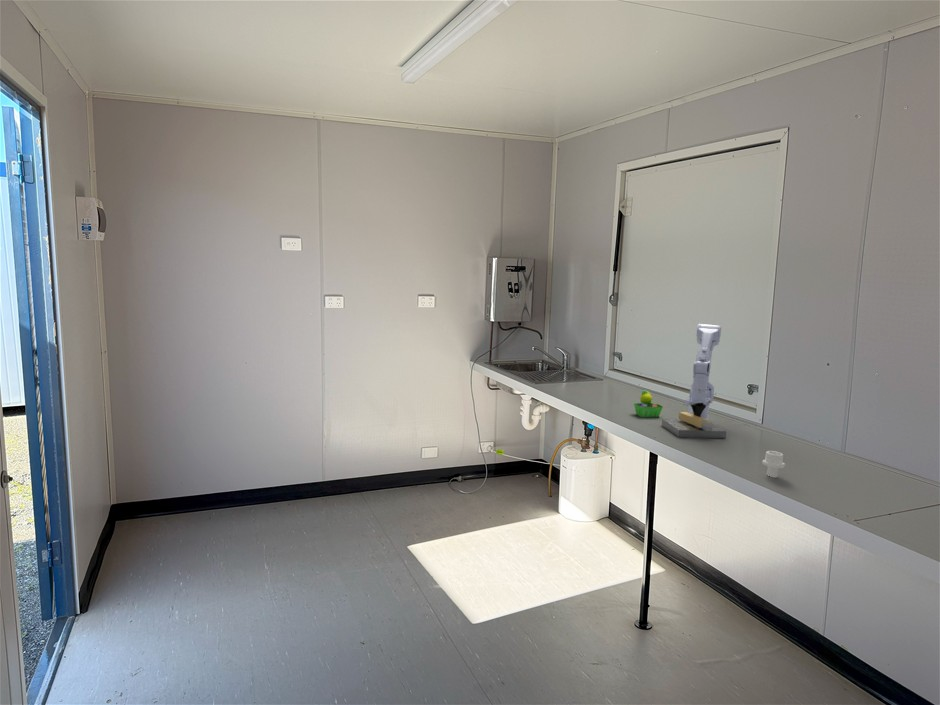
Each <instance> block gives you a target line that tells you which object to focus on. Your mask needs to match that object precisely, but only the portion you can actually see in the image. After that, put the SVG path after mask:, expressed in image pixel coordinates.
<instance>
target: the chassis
mask: <svg viewBox="0 0 940 705" xmlns="http://www.w3.org/2000/svg"><path fill="white" fill-rule="evenodd" d="M661 427H663V428H664V429H666V430H667V431H669V432H670V433H671V434H673V435H674V436H676V437H677V438H693V439H695V438H697V439H698V438H701V439H726V437H727V431H726V430H725V429H723V428H721V427H719V426H718V425H716V424H715V423H714V422H712V430H705V429H702V428H700V427H697V426H695V425H692V424H690V423H687V422H685V421H682V420H680V419H679V418H661Z"/></svg>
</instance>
